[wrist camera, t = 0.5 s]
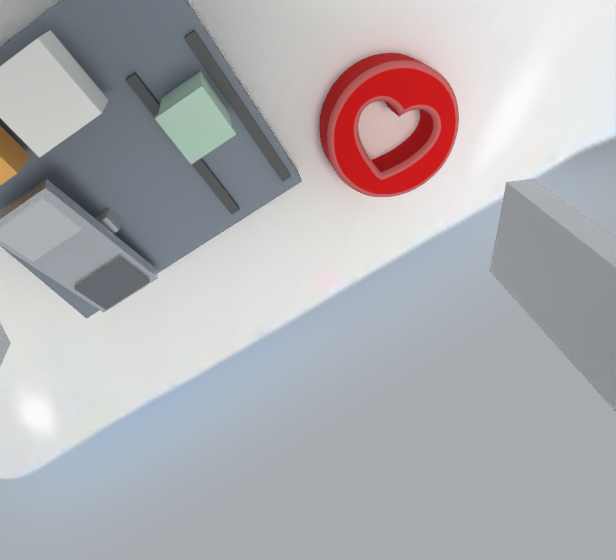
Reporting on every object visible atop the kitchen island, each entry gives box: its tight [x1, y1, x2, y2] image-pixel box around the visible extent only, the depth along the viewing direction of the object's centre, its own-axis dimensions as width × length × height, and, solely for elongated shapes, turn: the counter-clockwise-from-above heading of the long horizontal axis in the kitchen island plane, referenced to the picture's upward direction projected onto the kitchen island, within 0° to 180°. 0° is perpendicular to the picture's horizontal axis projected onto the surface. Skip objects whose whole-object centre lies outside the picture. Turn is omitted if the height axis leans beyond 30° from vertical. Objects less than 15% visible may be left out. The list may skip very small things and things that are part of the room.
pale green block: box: [155, 71, 236, 164], centre depth 31 cm, size 3×3×5 cm
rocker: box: [0, 179, 158, 312], centre depth 34 cm, size 10×5×1 cm, turn 31°
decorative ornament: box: [320, 53, 459, 197], centre depth 37 cm, size 10×10×3 cm
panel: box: [0, 0, 302, 318], centre depth 34 cm, size 17×20×4 cm
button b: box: [0, 30, 109, 158], centre depth 28 cm, size 4×4×3 cm
